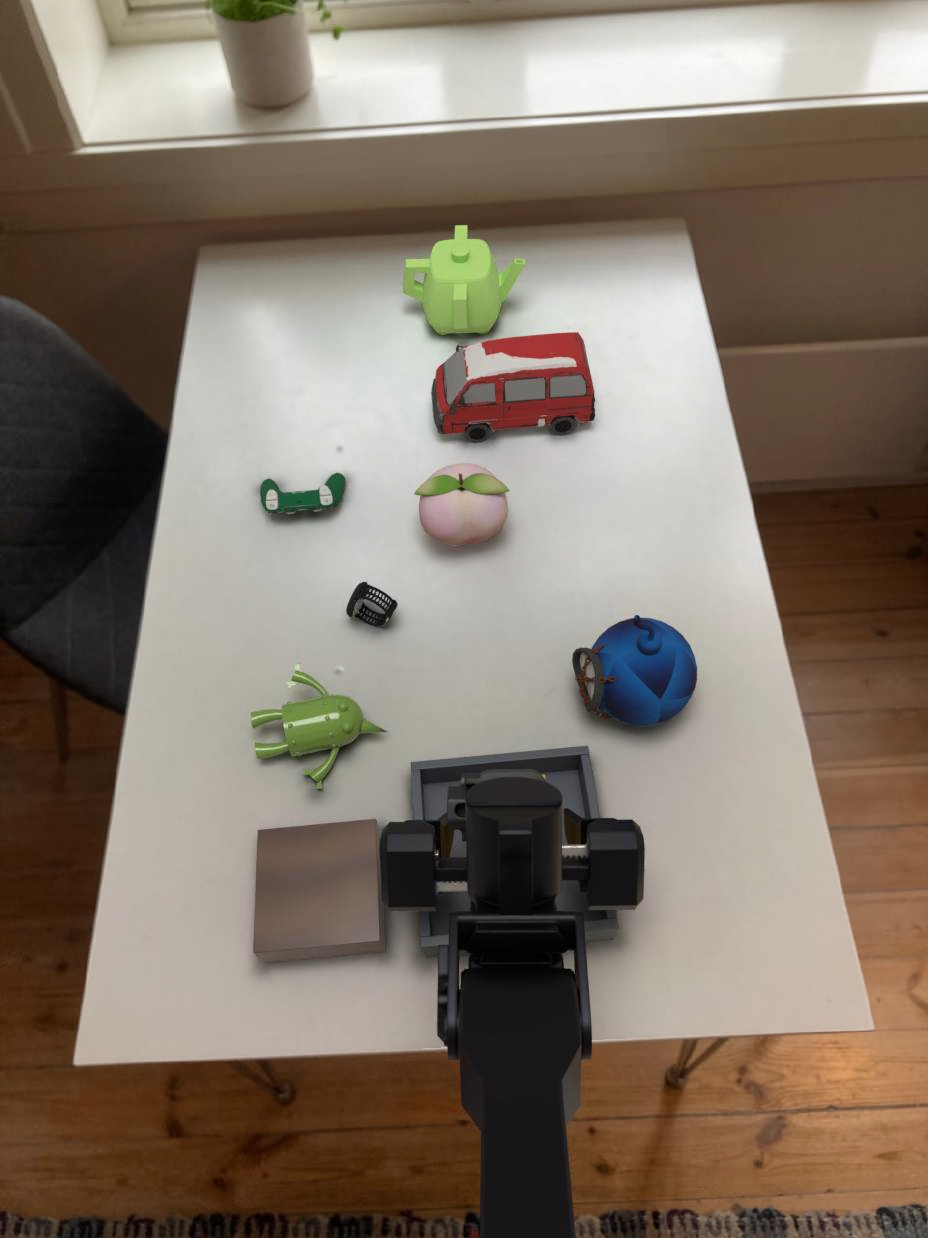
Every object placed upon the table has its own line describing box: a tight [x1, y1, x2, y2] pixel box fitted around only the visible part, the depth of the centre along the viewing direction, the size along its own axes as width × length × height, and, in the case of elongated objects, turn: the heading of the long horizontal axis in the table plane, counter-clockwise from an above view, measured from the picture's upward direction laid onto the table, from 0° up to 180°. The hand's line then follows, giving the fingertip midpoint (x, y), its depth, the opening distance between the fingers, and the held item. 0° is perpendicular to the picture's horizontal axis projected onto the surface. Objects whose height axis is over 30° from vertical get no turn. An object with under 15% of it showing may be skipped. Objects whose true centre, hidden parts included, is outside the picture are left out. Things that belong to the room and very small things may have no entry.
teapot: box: [402, 224, 526, 336], centre depth 111 cm, size 12×12×10 cm
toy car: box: [430, 331, 596, 444], centre depth 101 cm, size 9×18×10 cm, turn 90°
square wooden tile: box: [252, 818, 386, 964], centre depth 76 cm, size 10×10×4 cm
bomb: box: [571, 614, 698, 728], centre depth 80 cm, size 10×11×15 cm
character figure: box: [250, 662, 389, 790], centre depth 83 cm, size 12×5×12 cm
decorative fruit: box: [413, 462, 510, 547], centre depth 93 cm, size 9×8×10 cm
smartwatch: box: [345, 581, 399, 628], centre depth 89 cm, size 4×5×5 cm
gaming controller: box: [259, 472, 346, 515], centre depth 98 cm, size 9×4×6 cm
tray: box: [410, 745, 620, 959], centre depth 77 cm, size 16×16×4 cm
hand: (508, 814), depth 74 cm, fingers open, 9 cm apart
